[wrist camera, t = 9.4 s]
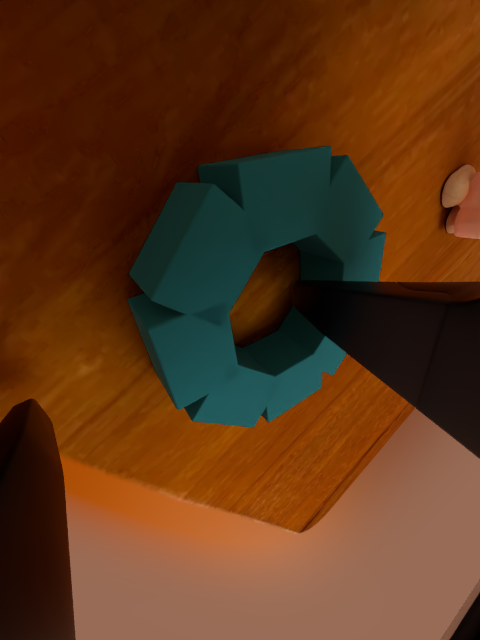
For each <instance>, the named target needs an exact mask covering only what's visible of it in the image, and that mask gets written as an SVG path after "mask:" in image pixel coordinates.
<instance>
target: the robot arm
mask: <svg viewBox="0 0 480 640" xmlns="http://www.w3.org/2000/svg"><path fill="white" fill-rule="evenodd" d="M292 290H293V305H294V307H295V308H296V309H297V310H298V311H299V312H300V313H301V314H302V315H303V316H304V317H305V318H306V319H307V320H308V321H309V322H310V323H311V324H312V325H313V326H314V327H315V328H316V329H318V330H319V331H320V332H321V333H322V334H323V335H325V336H326V337H327V338H328V339H330V340H331V341H332V342H333V343H335V344H336V345H337V346H338V347H340V348H341V349H342V350H343V351H345V352H346V353H347V354H348V355H350V356H351V357H352V358H354V359H355V360H356V361H357V362H359V363H360V364H361V365H362V366H364V367H365V368H366V369H367V370H369V371H370V372H371V373H372V374H374V375H375V376H376V377H377V378H379V379H380V380H381V381H383V382H384V383H385V384H386V385H388V386H389V387H390V388H391V389H393V390H394V391H395V392H396V393H398V394H399V395H400V396H401V397H403V398H404V399H405V400H406V401H408V402H409V403H410V404H412V405H413V406H414V407H416V409H418V410H419V411H420V412H421V413H423V414H424V415H425V416H426V417H428V418H429V419H430V420H431V421H433V422H434V423H435V424H436V425H438V426H439V427H440V428H441V429H443V430H444V431H445V432H447V433H448V434H449V435H450V436H452V437H453V438H454V439H456V440H457V441H458V442H459V443H460V444H462V445H463V446H464V447H465V448H467V449H468V450H469V451H470V452H472V453H473V454H474V455H476V456H477V457H478V458H479V459H480V282H397V283H396V282H372V281H327V280H301V281H299V282H296V283H294V284H293V287H292ZM0 640H76V639H75V626H74V612H73V598H72V584H71V570H70V556H69V543H68V528H67V515H66V500H65V486H64V476H63V469H62V464H61V460H60V455H59V451H58V447H57V442H56V438H55V433H54V429H53V425H52V422H51V420H50V418H49V417H48V415H47V414H46V413H45V412H44V410H43V409H42V408H41V406H40V405H39V404H38V402H37V401H36V400H34V399H28V400H26V401H24V402H21V403H19V404H17V405H15V406H14V407H13V408H12V409H11V410H10V411H9V413H8V414H7V415H6V416H5V418H4V419H3V420H2V421H1V423H0ZM441 640H480V580H479V581H478V583H477V585H476V586H475V587H474V589H473V591H472V592H471V594H470V595H469V597H468V598H467V600H466V601H465V603H464V604H463V606H462V607H461V609H460V610H459V612H458V613H457V615H456V617H455V618H454V620H453V621H452V623H451V624H450V626H449V627H448V629H447V630H446V632H445V633H444V635H443V636H442V638H441Z"/></svg>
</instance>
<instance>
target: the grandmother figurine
mask: <svg viewBox="0 0 480 640" xmlns="http://www.w3.org/2000/svg"><path fill="white" fill-rule="evenodd" d="M442 205H443V206H444V207H445V208H448V207H452V206H454V207H453V209H452V210H451V212H450V213H449V216H448V218H447V222H446V230H447V233H454V235H455V236H456V237H466V238H474V239H480V172H479V173H477V172H476V170H475V169H474V167H472V166H471V165H468V164H467V165H464V166H462V167H461V168H460V169H458V170H457V171H455V172H454V173H453V174H452V175H451V176H450V177H449V179H448V180H447V182H446V183H445V186H444V189H443V193H442Z"/></svg>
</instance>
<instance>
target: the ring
mask: <svg viewBox="0 0 480 640" xmlns="http://www.w3.org/2000/svg"><path fill="white" fill-rule="evenodd" d="M198 172H199V178H200V183H189V182H177V183H176V185H175V187H174V189H173V191H172V192H171V194H170V196H169V198H168V200H167V202H166V204H165V206H164V208H163V210H162V211H161V213H160V215H159V217H158V219H157V221H156V223H155V225H154V227H153V229H152V230H151V232H150V234H149V236H148V238H147V240H146V242H145V244H144V246H143V248H142V250H141V251H140V253H139V255H138V257H137V259H136V261H135V263H134V265H133V267H132V269H131V270H130V272H129V275H130V276H131V277H132V279H133V280H134V281H135V282H136V283H137V284H138V286H139V287H140V288H141V289H142V290H143V291H144V294H141V295H138V296H135V297H132V298H130V299H128V304H129V306H130V309H131V311H132V314H133V316H134V319H135V321H136V324H137V326H138V329H139V331H140V334H141V337H142V339H143V342H144V344H145V347H146V349H147V352H148V354H149V357H150V359H151V362H152V364H153V367H154V369H155V372H156V373H157V375H158V377H159V379H160V380H161V382H162V384H163V386H164V387H165V389H166V391H167V393H168V394H169V396H170V398H171V400H172V401H173V403H174V405H175V407H176V408H177V409H178V410H180V409H182V408H185V410H186V411H187V413H188V415H189V416H190V418H191V420H192V421H195V422H205V423H215V424H224V425H234V426H244V427H254V426H255V424H256V423H257V421H258V419H259V418H260V416H261V415H262V416H263V417H264V418H265V419H266V421H267V422H270V421H272V420H273V419H275V418H276V417H278V416H279V415H281V414H282V413H284V412H285V411H287V410H288V409H290V408H291V407H293V406H295V405H296V404H298V403H299V402H301V401H302V400H304V399H305V398H307V397H308V396H310V395H311V394H313V393H314V392H316V391H317V390H319V389H320V388H321V387H322V371H323V372H326V373H328V374H330V375H334V373H335V372H336V370H337V368H338V367H339V365H340V364H341V362H342V360H343V359H344V357H345V356H346V354H347V353H346V352H345V351H343V350H342V349H341V348H340V347H338V346H337V345H336V344H335V343H333V342H332V341H331V340H330V339H328V338H327V337H326V336H325V335H323V334H322V333H321V332H320V331H319V330H318V329H316V328H315V327H314V326H313V325H312V324H311V323H310V322H309V321H308V320H307V319H306V318H305V317H304V316H303V315H302V314H301V313H300V312H299V311H298V310H297V309H296V308H295V307H294V305H293V306H292V308H291V310H290V311H289V313H288V315H287V316H286V318H285V320H284V321H283V323H282V325H281V326H280V328H279V330H278V331H276V332H274V333H272V334H270V335H268V336H266V337H264V338H262V339H260V340H258V341H256V342H254V343H252V344H250V345H248V346H246V347H244V348H241V347H238V346H235V345H234V340H233V335H232V329H231V323H230V318H229V313H230V311H231V309H232V308H233V306H234V304H235V302H236V301H237V299H238V297H239V295H240V294H241V292H242V290H243V288H244V287H245V285H246V283H247V282H248V280H249V278H250V276H251V275H252V273H253V271H254V269H255V268H256V266H257V264H258V262H259V261H260V259H261V257H262V255H263V254H264V252H267V251H270V250H272V249H275V248H278V247H281V246H284V245H287V244H289V243H292V244H293V245H295V246H296V247H297V248H298V249H299V250H300V281H301V280H327V281H372V282H379V276H380V269H381V263H382V256H383V249H384V243H385V236H386V233H385V232H379V231H374V230H375V228H376V227H377V225H378V223H379V222H380V220H381V218H382V217H383V213H382V211H381V210H380V208H379V206H378V205H377V203H376V201H375V200H374V198H373V196H372V194H371V193H370V191H369V189H368V188H367V186H366V184H365V183H364V181H363V179H362V178H361V176H360V174H359V173H358V171H357V169H356V168H355V166H354V164H353V163H352V161H351V159H350V158H349V156H347V155H344V156H331V146H323V147H313V148H303V149H293V150H283V151H275V152H270V153H264V154H258V155H253V156H247V157H242V158H236V159H230V160H225V161H219V162H213V163H208V164H202V165H198Z"/></svg>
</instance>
